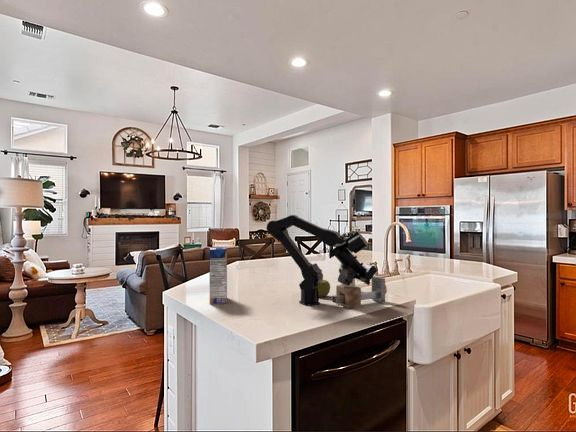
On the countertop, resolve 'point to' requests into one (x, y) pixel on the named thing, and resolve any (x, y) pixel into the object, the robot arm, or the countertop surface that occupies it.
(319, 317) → the countertop surface
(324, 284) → the apple
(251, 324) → the countertop surface
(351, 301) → the block
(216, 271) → the beverage box
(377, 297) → the hook rod
